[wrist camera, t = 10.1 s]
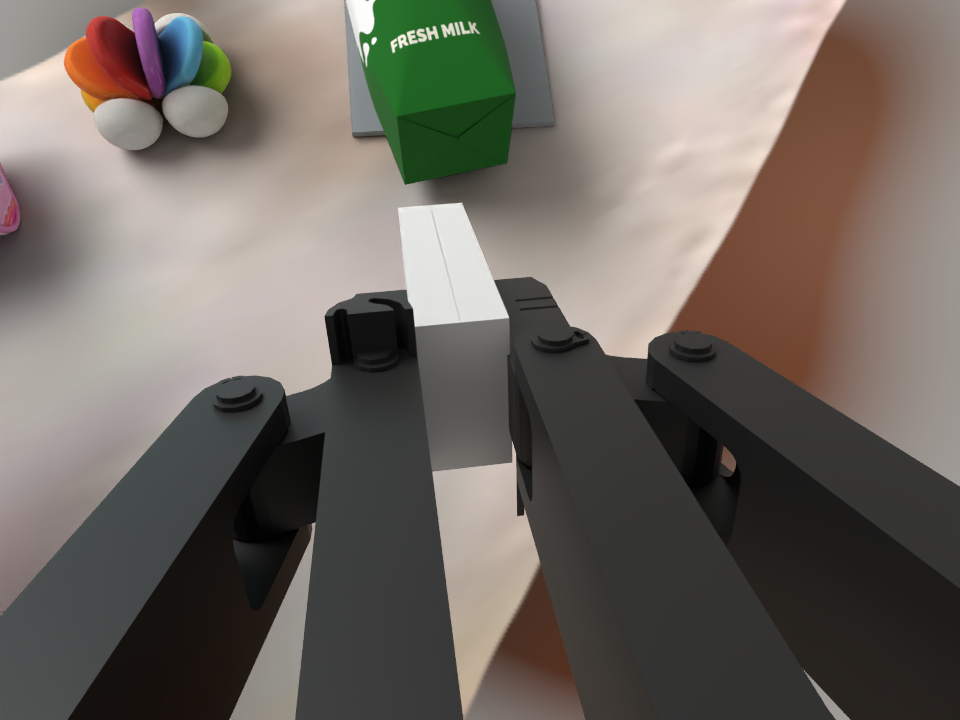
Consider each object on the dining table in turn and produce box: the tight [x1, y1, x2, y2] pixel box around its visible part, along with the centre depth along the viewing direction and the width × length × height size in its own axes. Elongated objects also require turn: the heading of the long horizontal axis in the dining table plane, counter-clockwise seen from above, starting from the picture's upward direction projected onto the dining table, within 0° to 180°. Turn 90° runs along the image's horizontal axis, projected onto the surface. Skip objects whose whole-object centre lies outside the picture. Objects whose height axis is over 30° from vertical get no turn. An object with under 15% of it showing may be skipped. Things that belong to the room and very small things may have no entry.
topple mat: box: [344, 0, 555, 137], centre depth 51 cm, size 20×14×1 cm
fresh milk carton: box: [346, 0, 516, 185], centre depth 45 cm, size 9×9×20 cm
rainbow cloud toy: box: [64, 8, 231, 150], centre depth 45 cm, size 8×10×7 cm
